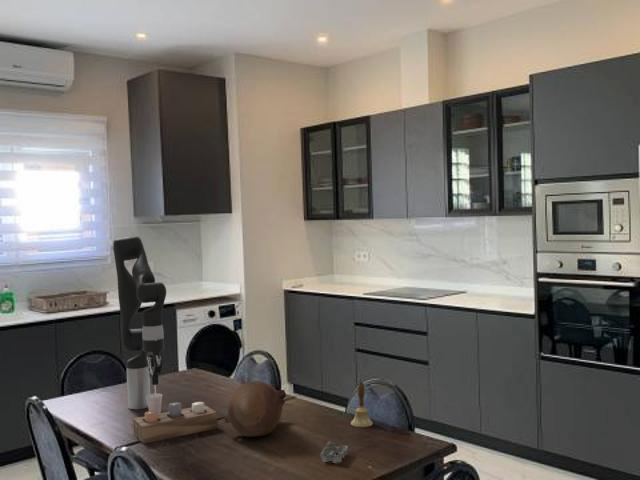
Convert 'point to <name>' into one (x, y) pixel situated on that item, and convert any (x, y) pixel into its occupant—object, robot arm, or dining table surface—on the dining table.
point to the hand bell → (361, 410)
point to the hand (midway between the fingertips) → (155, 384)
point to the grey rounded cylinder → (175, 410)
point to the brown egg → (151, 416)
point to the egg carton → (333, 452)
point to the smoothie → (154, 401)
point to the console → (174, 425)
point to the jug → (255, 408)
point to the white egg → (198, 407)
